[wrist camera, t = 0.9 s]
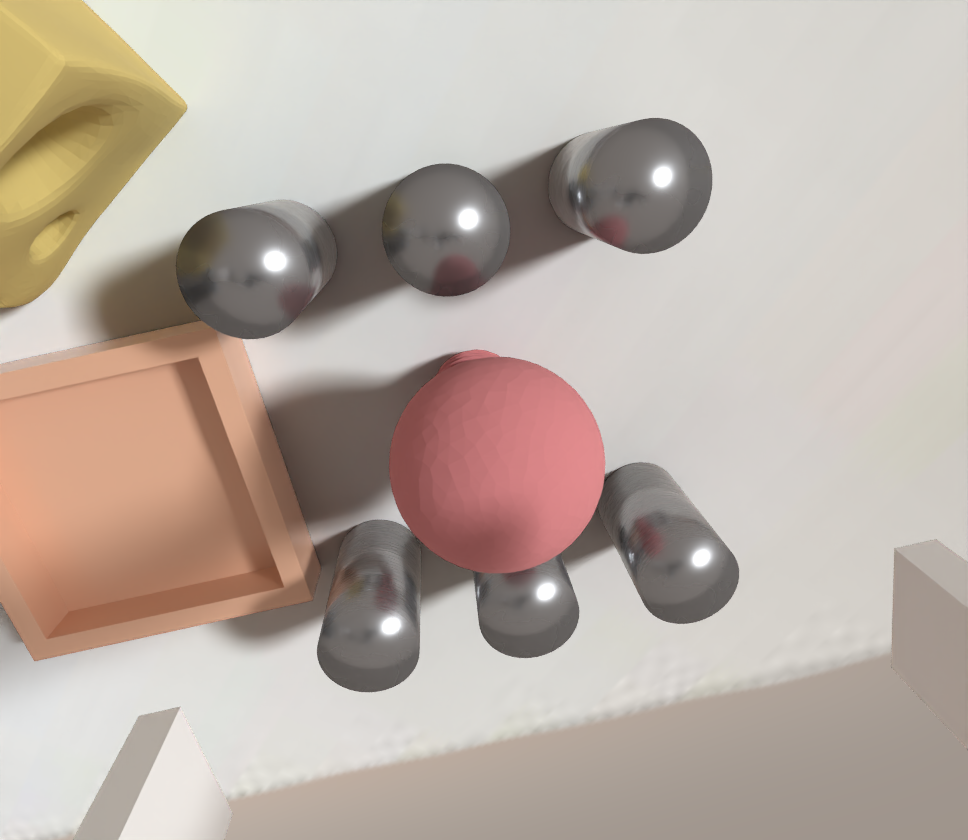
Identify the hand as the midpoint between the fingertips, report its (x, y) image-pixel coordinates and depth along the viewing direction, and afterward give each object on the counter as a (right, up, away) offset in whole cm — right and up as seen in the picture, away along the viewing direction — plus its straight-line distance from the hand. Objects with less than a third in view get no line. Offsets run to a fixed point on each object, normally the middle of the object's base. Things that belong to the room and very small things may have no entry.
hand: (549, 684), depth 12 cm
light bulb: (-1, +6, +18) cm, 19 cm away
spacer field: (-1, +6, +18) cm, 19 cm away
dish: (-17, +2, +18) cm, 25 cm away
